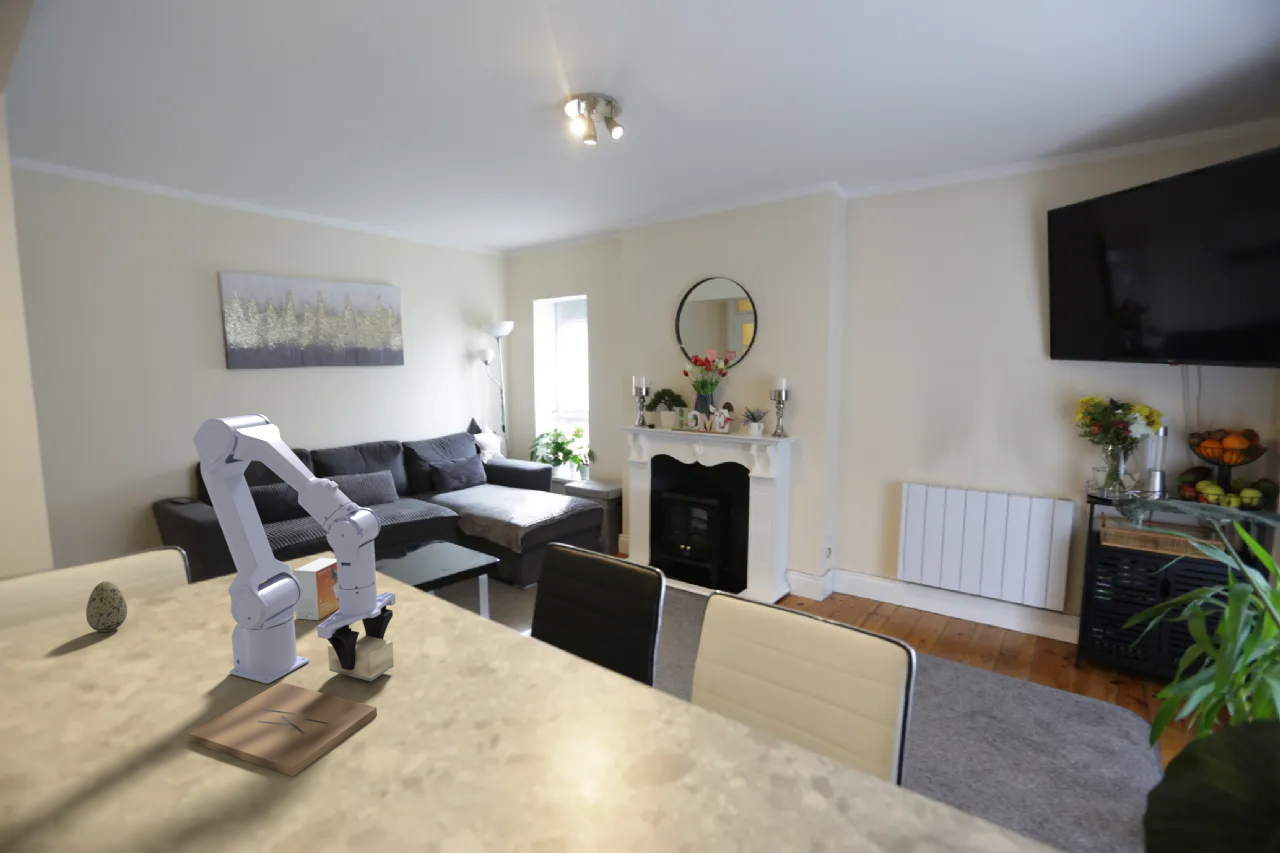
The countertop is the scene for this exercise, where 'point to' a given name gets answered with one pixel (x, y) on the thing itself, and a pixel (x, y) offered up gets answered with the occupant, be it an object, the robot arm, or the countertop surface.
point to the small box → (317, 589)
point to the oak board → (284, 727)
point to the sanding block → (366, 658)
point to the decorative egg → (106, 607)
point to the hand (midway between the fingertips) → (361, 660)
